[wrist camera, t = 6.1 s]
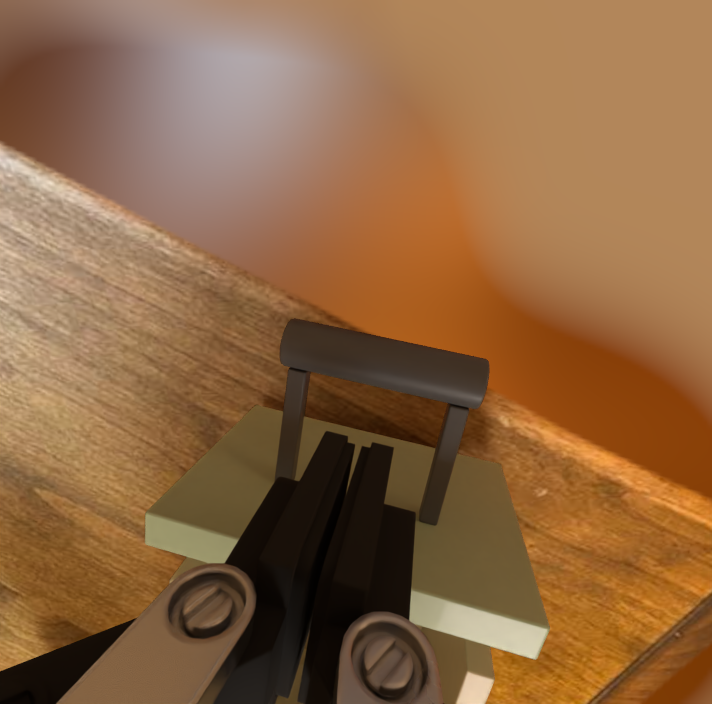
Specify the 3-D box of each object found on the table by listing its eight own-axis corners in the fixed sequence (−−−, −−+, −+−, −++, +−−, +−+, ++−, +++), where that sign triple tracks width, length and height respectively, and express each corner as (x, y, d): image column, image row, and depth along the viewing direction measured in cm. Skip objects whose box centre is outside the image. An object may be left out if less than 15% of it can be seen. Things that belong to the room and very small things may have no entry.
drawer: (267, 282, 17) (145, 320, 10) (542, 338, 16) (637, 429, 8) (234, 615, 23) (141, 794, 16) (431, 677, 22) (431, 904, 14)
